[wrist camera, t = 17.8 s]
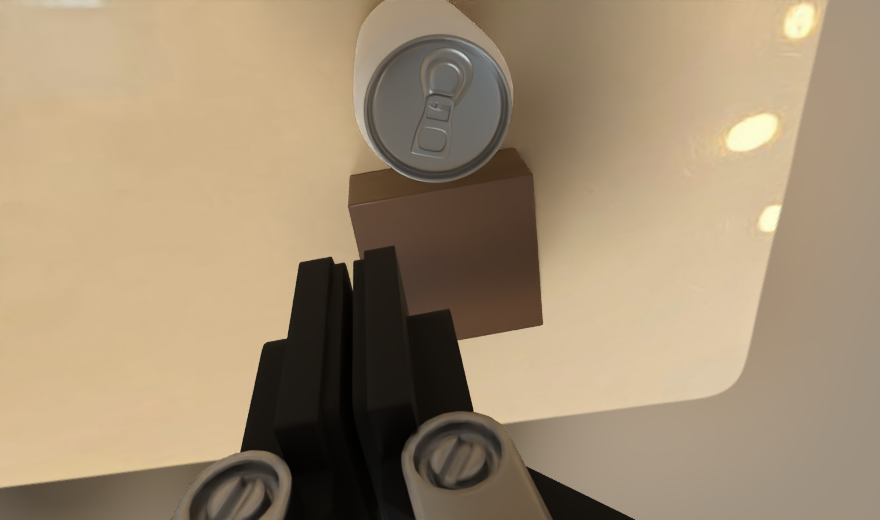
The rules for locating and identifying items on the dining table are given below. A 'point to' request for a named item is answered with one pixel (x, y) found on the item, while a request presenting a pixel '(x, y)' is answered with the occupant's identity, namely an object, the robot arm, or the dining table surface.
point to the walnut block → (458, 242)
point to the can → (430, 90)
